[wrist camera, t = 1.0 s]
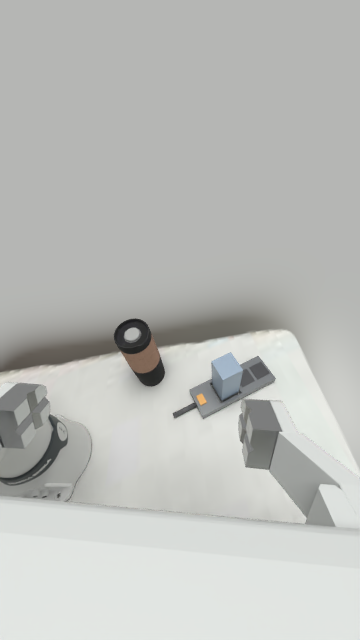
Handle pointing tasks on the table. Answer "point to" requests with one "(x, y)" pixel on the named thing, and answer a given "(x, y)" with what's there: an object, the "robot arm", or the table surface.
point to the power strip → (251, 381)
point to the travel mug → (140, 351)
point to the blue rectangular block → (226, 377)
